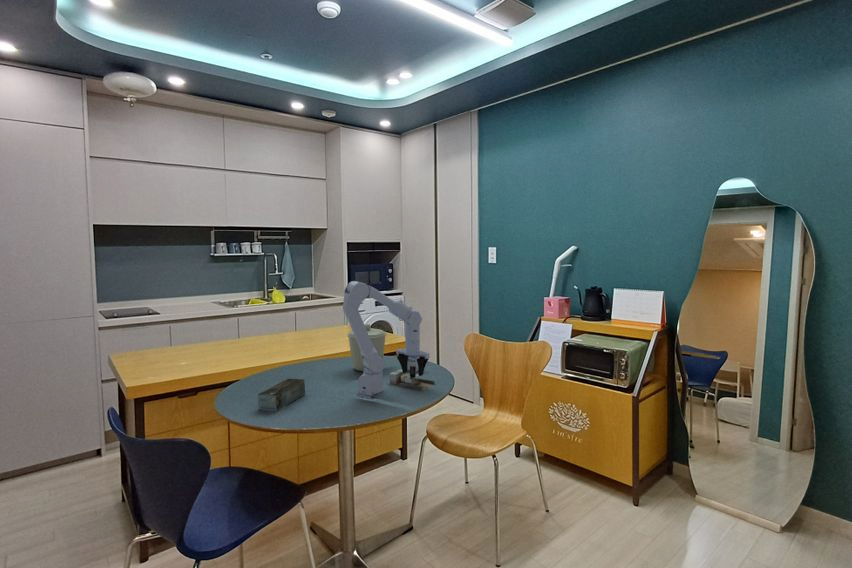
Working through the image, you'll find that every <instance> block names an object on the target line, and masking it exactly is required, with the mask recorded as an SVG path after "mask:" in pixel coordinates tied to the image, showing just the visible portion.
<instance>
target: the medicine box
mask: <svg viewBox="0 0 852 568" xmlns="http://www.w3.org/2000/svg"><path fill="white" fill-rule="evenodd" d="M418 358H420V357H414V356H409V357H408V363H407V372H408V371H409V372H410V366H416V373H417V372H418V363H417V359H418Z"/></svg>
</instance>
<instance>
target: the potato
mask: <svg viewBox="0 0 852 568" xmlns="http://www.w3.org/2000/svg"><path fill="white" fill-rule="evenodd" d="M408 376H410V373H409V374H407V373H406V374H403V375H401V383H404V384H405V378H406V377H408Z"/></svg>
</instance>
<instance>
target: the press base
mask: <svg viewBox="0 0 852 568" xmlns="http://www.w3.org/2000/svg"><path fill="white" fill-rule="evenodd" d="M403 374H407V372H406V373H403V371H402V368H401V369H397V370H394V371H393V372H390V373H389V382H387V383H385V384H386V385H390V386H395V387H399V388H404V389H411V390H416V391H420V392H423V391H425V390H427V389H429V388H431V387H433V386H435V385H436V383H435V382H436V381H435V380H431V379H427V378H421V382H420V383H417V384H415V385H409V384H404V383H401V375H403Z"/></svg>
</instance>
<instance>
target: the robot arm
mask: <svg viewBox="0 0 852 568" xmlns="http://www.w3.org/2000/svg"><path fill="white" fill-rule="evenodd" d="M343 294H344V295H343V301H342V303H343V304H342V310H343V312H344V315H345V317H346V320H347V323H348V324H349V327H350V328H351V331H353V333H354V336H355V338H356V340H357V343H358V345H359V347H360V350H361V356H362V364H363V365H364V366H365V368H364V371H363V373H362V374H361V375H360V376H359V377H358V379H357V390H358V394H356V397H361V398H364V399H368V400H374V399H376V397H375V396H373V395H375V394H379V393H382V392H383V391H384V384H383V383H384V381H383V380H384V377H383V376H384V375H383V373H384V372H383V370H384V368H385V360H384V358H383V359H382V358H381V357H380V356H379V354H378V352H377V351H376V349H375V348H374V346H373V344H372V342H371V339H370V337H369V335H368V332H367V330H366V328H365V323H364V321H363V318H362V316H361V314H360V312H359V308H360V306H361V304H362V303H363V302H364V301H365V300H366V299H373V300H375V301H377V302H378V303H380V304H382V305H383V306H386V307H387V308H388V311H389V313H390V314H392V315H393V316H395V317H396V318H398V319H400V320H401V321H403V323H404V327H405V328H404V331H405V332H404V333H405V334H404V336H405V337H404V338H405V339H404V340H405V341H404V343H405V345H404V346H405V347H404V348H398V349H396V353H395V354H396V355H397V356H396V359H397V360H398V362H399V364H400V367H401V370H402V371H403V373H406V374H407V373H408V370H407V363H408V357H409V356H414V357H420V358H418V359H417V363H418V371H417V372H418V373H417V374H419V376H421V377H422V376H423V375H424V371H425V368H426V365H427V363H428V361H429V359H430V352H426V351H423V350H421V347H420V345H421V337H420V333H421V332H420V331H421V330H420V325H421V323H422V321H423V318H422V315H421V314H420V312H419V311H416V310H413V307H412V306H408V305H406V304H405V303H404V301H403V300H401V299H395V300H393V299H391V298H390V297H389V296H387V295H385V294H384V293H382V292H381V291H379V290H378V289H377V288H375V287H373V286H372V285H368V284H367V283H365V282H360V281H358V280H357V281H356V280H352V281H350V282H348V283H347V285H346V287H345V288H344V290H343Z"/></svg>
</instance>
